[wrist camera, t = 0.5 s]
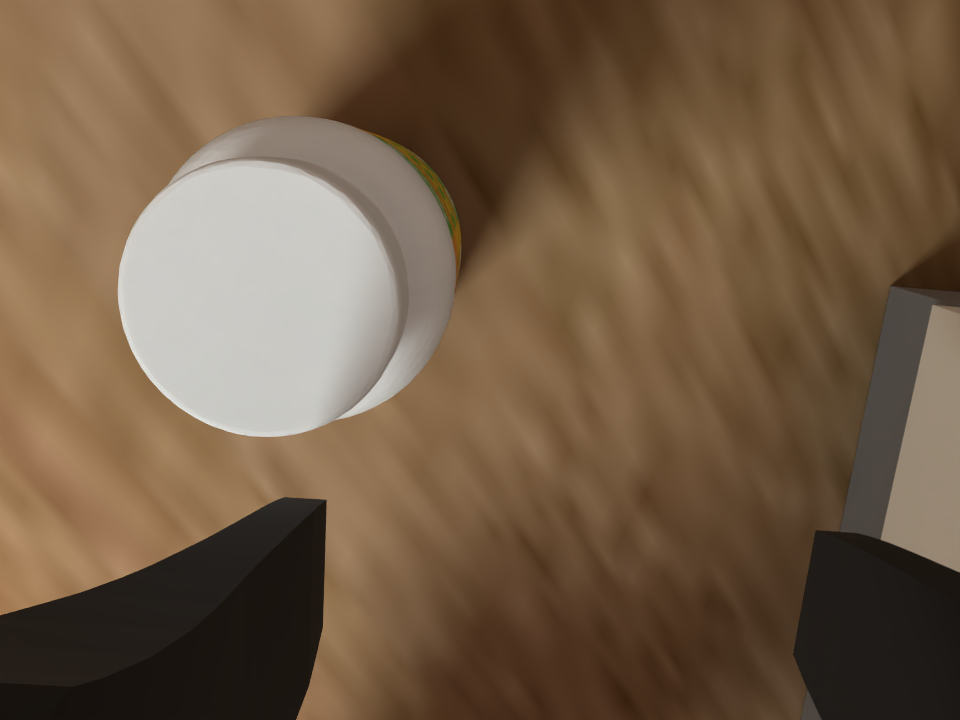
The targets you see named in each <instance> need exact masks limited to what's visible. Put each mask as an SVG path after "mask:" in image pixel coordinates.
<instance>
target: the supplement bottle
mask: <svg viewBox="0 0 960 720" xmlns="http://www.w3.org/2000/svg"><path fill="white" fill-rule="evenodd" d="M461 252H462V241H461V229H460V224H459V219H458V215H457V212H456V209H455V206H454V203H453V201H452V199H451V196H450V195H449V193H448V191H447V189H446V187H445V186H444V184H443V183H442V181H441V180H440V178H439V177H438V175H437V174H436V173H435V172H434V171H433V170H432V169H431V167H430V166H429V165H427V164H426V163H425V162H424V161H423V160H422V159H421V158H420V157H418V156H417V155H416V154H414V153H413V152H412V151H410V150H408V149H407V148H405V147H404V146H402V145H400V144H398V143H396V142H394V141H392V140H389V139H387V138H384V137H382V136H379V135H377V134H374V133H371V132H368V131H365V130H362V129H359V128H356V127H353V126H351V125H347V124H344V123H341V122H337V121H334V120H329V119H324V118H316V117H305V116H279V117H273V118H266V119H262V120H257V121H253V122H249V123H246V124H244V125H241V126H239V127H236V128H234V129H231V130H229V131H227V132H225V133H223V134H221V135H220V136H218V137H216V138H215V139H213V140H212V141H210V142H208V143H207V144H205V145H204V146H203V147H202V148H201V149H199V150H198V151H197V152H196V153H195V154H193V155H192V156H191V157H190V158H189V159H188V160H187V161H186V162H185V163H184V165H183V166H182V167H181V168H180V169H179V171H178V172H177V173H176V174H175V176H174V177H173V179H172V180H171V181H170V183H169V184H168V186H166V187H165V188H164V189H163V190H162V191H161V192H160V193H158V194H157V195H156V196H155V198H154V199H153V200H152V201H151V202H150V203H149V205H148V206H147V207H146V208H145V209H144V211H143V212H142V214H141V215H140V216H139V218H138V219H137V221H136V223H135V224H134V226H133V228H132V230H131V233H130V235H129V237H128V239H127V242H126V245H125V249H124V252H123V255H122V259H121V263H120V268H119V281H118V302H119V308H120V314H121V320H122V324H123V329H124V332H125V334H126V337H127V339H128V342H129V345H130V347H131V349H132V351H133V353H134V355H135V357H136V359H137V361H138V362H139V364H140V366H141V367H142V369H143V370H144V372H145V373H146V375H147V376H148V377H149V379H150V380H151V381H152V382H153V383H154V384H155V385H156V387H157V388H158V389H159V390H160V391H161V392H162V393H163V394H164V395H165V396H166V397H167V398H169V399H170V400H171V401H172V402H173V403H175V404H176V405H177V406H178V407H179V408H181V409H182V410H184V411H185V412H187V413H188V414H190V415H192V416H193V417H195V418H197V419H199V420H201V421H203V422H205V423H207V424H209V425H211V426H214V427H217V428H220V429H222V430H225V431H228V432H232V433H236V434H241V435H247V436H262V437H274V436H287V435H294V434H299V433H302V432H306V431H310V430H313V429H315V428H318V427H320V426H323V425H325V424H328V423H330V422H332V421H334V420H337V419H342V418H346V417H350V416H353V415H356V414H359V413H362V412H364V411H367V410H369V409H371V408H373V407H375V406H377V405H379V404H381V403H383V402H384V401H386V400H388V399H390V398H391V397H393V396H394V395H395V394H397V393H398V392H399V391H400V390H401V389H403V388H404V387H405V386H406V385H408V384H409V383H410V382H411V381H412V380H413V379H414V378H415V376H416V375H417V374H418V373H419V372H420V371H421V370H422V369H423V368H424V366H425V365H426V363H427V362H428V361H429V359H430V358H431V356H432V355H433V353H434V351H435V350H436V348H437V346H438V344H439V342H440V340H441V338H442V336H443V334H444V332H445V329H446V327H447V324H448V321H449V319H450V315H451V311H452V307H453V303H454V297H455V290H456V284H457V279H458V274H459V269H460V262H461Z"/></svg>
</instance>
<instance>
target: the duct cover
mask: <svg viewBox="0 0 960 720" xmlns="http://www.w3.org/2000/svg"><path fill="white" fill-rule="evenodd" d="M881 540H883V541H886V542H888V543H891V544H893V545H896V546H899V547H901V548H904V549H906V550H909V551H911V552H913V553H916V554H918V555H920V556H923V557H925V558H927V559H930V560H932V561H934V562H937V563H939V564H941V565H944V566H946V567H948V568H951V569H953V570H955V571H957V572H960V307H950V306H940V305H932V310H931V314H930V319H929V323H928V328H927V332H926V337H925V341H924V346H923V350H922V355H921V359H920V364H919V368H918V373H917V377H916V382H915V386H914V391H913V395H912V400H911V404H910V409H909V413H908V418H907V423H906V427H905V432H904V436H903V441H902V445H901V450H900V454H899V459H898V463H897V468H896V472H895V477H894V481H893V486H892V490H891V495H890V499H889V504H888V508H887V513H886V517H885V522H884V526H883V531H882V535H881Z"/></svg>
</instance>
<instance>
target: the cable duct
mask: <svg viewBox="0 0 960 720" xmlns="http://www.w3.org/2000/svg"><path fill="white" fill-rule="evenodd" d="M932 305H940V306H950V307H960V292H956V291H944V290H932V289H920V288H908V287H896V286H891V287H890V292H889V297H888V301H887V306H886V311H885V316H884V321H883V325H882V330H881V335H880V340H879V345H878V350H877V354H876V359H875V364H874V369H873V374H872V378H871V383H870V388H869V393H868V398H867V403H866V407H865V412H864V417H863V422H862V427H861V431H860V436H859V441H858V446H857V451H856V455H855V460H854V465H853V470H852V475H851V480H850V484H849V489H848V494H847V499H846V504H845V508H844V513H843V518H842V523H841V528H840V532H849V533H859V534H863V535H867V536H871V537H874V538H877V539H880V540H881V535H882V531H883V526H884V522H885V517H886V513H887V508H888V504H889V499H890V495H891V490H892V486H893V481H894V477H895V472H896V468H897V463H898V459H899V454H900V450H901V445H902V441H903V436H904V432H905V427H906V423H907V418H908V413H909V409H910V404H911V400H912V395H913V391H914V386H915V382H916V377H917V373H918V368H919V364H920V359H921V355H922V350H923V346H924V341H925V337H926V332H927V328H928V323H929V319H930V314H931V310H932ZM801 720H822V719H821V717H820V715H819V713H818V711H817V709H816V707H815V705H814V702H813V700H812V698H811V696H810V694H809V691H808V689H807V691H806V696H805V701H804V706H803V711H802V715H801Z"/></svg>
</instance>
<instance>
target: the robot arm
mask: <svg viewBox="0 0 960 720" xmlns="http://www.w3.org/2000/svg"><path fill="white" fill-rule="evenodd" d="M326 502H327V500H320V499H304V498H288V497H284V498H281V499H278V500H276V501H274V502H272V503H270V504H268V505H266V506H264V507H262V508H261V509H259V510H257V511H255V512H253V513H252V514H250V515H248V516H246V517H245V518H243V519H241V520H239V521H237V522H236V523H234V524H232V525H230V526H228V527H226V528H225V529H223V530H221V531H219V532H217V533H216V534H214V535H212V536H210V537H208V538H206V539H204V540H202V541H200V542H198V543H196V544H194V545H192V546H190V547H188V548H186V549H184V550H182V551H180V552H178V553H176V554H174V555H172V556H170V557H168V558H165V559H163V560H161V561H159V562H157V563H155V564H153V565H151V566H149V567H146V568H144V569H142V570H139V571H137V572H134V573H132V574H129V575H127V576H125V577H122V578H119V579H117V580H114V581H111V582H109V583H106V584H103V585H100V586H98V587H95V588H92V589H89V590H87V591H84V592H81V593H78V594H74V595H71V596H68V597H64V598H61V599H57V600H54V601H50V602H47V603H43V604H39V605H36V606H32V607H29V608H25V609H22V610H18V611H15V612H11V613H7V614H4V615H0V720H296V718H297V716H298V713H299V710H300V708H301V705H302V703H303V700H304V697H305V695H306V692H307V689H308V687H309V683H310V679H311V675H312V671H313V667H314V663H315V659H316V654H317V650H318V645H319V641H320V637H321V632H322V628H323V603H324V569H325V535H326ZM793 655H794V657H795V660H796V662H797V665H798V667H799V670H800V672H801V675H802V677H803V679H804V682H805V684H806V687H807V689H808V691H809V694H810V696H811V698H812V700H813V702H814V705H815V707H816V709H817V711H818V713H819V715H820V717H821V719H822V720H960V572H957V571H955V570H953V569H951V568H948V567H946V566H944V565H941V564H939V563H937V562H934V561H932V560H930V559H927V558H925V557H923V556H920V555H918V554H916V553H913V552H911V551H909V550H906V549H904V548H901V547H899V546H896V545H893V544H891V543H888V542H886V541H883V540H880V539H877V538H874V537H871V536H867V535H863V534H859V533H849V532H833V531H817V530H816V532H815V537H814V543H813V548H812V554H811V559H810V565H809V570H808V576H807V581H806V587H805V592H804V598H803V603H802V609H801V614H800V620H799V625H798V631H797V636H796V642H795V647H794V653H793Z"/></svg>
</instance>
